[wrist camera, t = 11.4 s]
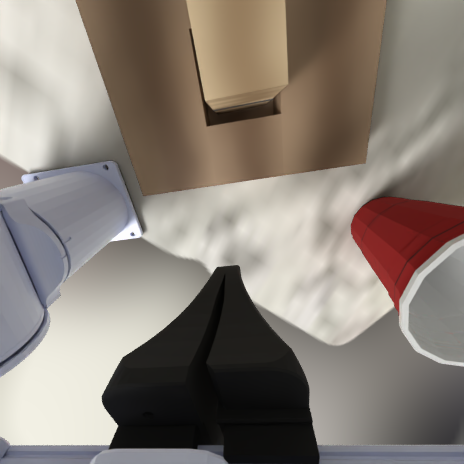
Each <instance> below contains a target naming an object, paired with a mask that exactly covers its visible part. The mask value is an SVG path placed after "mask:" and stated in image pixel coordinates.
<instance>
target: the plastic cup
mask: <svg viewBox="0 0 464 464" xmlns="http://www.w3.org/2000/svg"><path fill="white" fill-rule="evenodd" d="M351 234H352V236H353V239H354V240H355V242H356V243H357V245H358V246H359V248H360V249H361V251H362V253H363V255H364V256H365V258H366V260H367V261H368V263H369V264H370V266H371V267H372V269H373V270H374V272H375V273H376V275H377V276H378V278H379V279H380V281H381V282H382V284H383V285H384V287H385V288H386V290H387V291H388V294H389V296H390V298H391V299H392V301H393V302H394V306H395V308H396V309H397V311H398V314H399V326H400V328H401V330H402V332H403V334H404V335H405V336H406V338H407V339H408V341H409V342H410V344H411V345H412V346H413V348H414V349H415V351H417V352H419V353H421V354H423V355H425V356H427V357H429V358H431V359H433V360H435V361H437V362H439V363H442V364H450V365H458V366H464V207H462V206H455V205H449V204H442V203H435V202H429V201H419V200H410V199H404V198H397V197H382V198H378V199H374V200H372V201H370V202H368V203H367V204H365V205H364V206H362V207H361V208H360V210H359V211H358V212H357V213H356V214H355V215H354V218H353V221H352V223H351Z"/></svg>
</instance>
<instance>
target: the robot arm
mask: <svg viewBox="0 0 464 464" xmlns="http://www.w3.org/2000/svg"><path fill="white" fill-rule="evenodd" d="M105 165H107V166H108V168H109V169H108V170H107V169H106V168H105ZM37 177H38V178H39V180H38V178H37ZM22 181H23V183H24V184H20V185H16V186H12V187H8V188H4V189H0V377H1V376H3V375H4V374H6V373H7V372H9V371H10V370H11V369H13V368H14V367H15V366H17V365H18V364H19V363H20V362H22V361H23V360H24V359H25V358H26V357H27V356H28V355H29V354H30V353H31V352H32V351H33V350H34V349H35V348H36V347H37V346H38V345H39V344H40V342H41V341H42V340H43V338H44V337H45V335H46V333H47V331H48V328H49V325H50V316H49V313H48V311H47V308H48V307H49V306H50V305H51V304H52V303H53V302H54V301H55V300H56V299H57V298H59V297H60V286H61V284H62V283H63V282H64V281H65V280H66V279H68V278H69V277H70V276H71V275H72V274H73V273H75V272H76V271H77V270H78V269H79V268H80V267H82V266H83V265H84V264H85V263H86V262H87V261H88V260H90V259H91V258H92V257H93V256H94V255H95V254H96V253H98V252H99V251H100V250H101V249H102V248H103V247H104V246H106V244H108V243H109V242H110V241H117V240H124V239H132V238H139V237H141V236H142V235H143V231H142V228H141V226H140V223H139V220H138V218H137V215H136V212H135V210H134V207H133V204H132V202H131V199H130V197H129V194H128V191H127V189H126V186H125V183H124V181H123V178H122V175H121V173H120V170H119V167H118V165H117V163H116V162H114V161H105V162H99V163H93V164H87V165H81V166H75V167H69V168H62V169H56V170H50V171H44V172H38V173H32V174H26V175H23V176H22ZM132 232H134V233H135V235H133V234H132ZM102 403H103V405H104V407H105V409H106V410H107V412H108V413H109V414H110V415H111V417H112V418H113V419H114V421H115V422H116V423H117V425H118V428H117V430H116V433H115V435H114V438H113V440H112V442H111V444H110V445H101V446H100V445H61V446H60V445H55V446H53V445H49V446H48V445H45V446H43V445H36V446H35V445H31V446H29V445H26V446H25V445H21V446H20V445H18V446H16V445H14V446H13V445H10V444H9V442H8V441H7V440H5V439H4V438H2V437H0V464H464V445H317V442H316V438H315V434H314V430H313V425H312V422H313V421H312V417H311V412H310V408H309V385H308V382H307V379H306V376H305V374H304V372H303V369H302V367H301V365H300V363H299V361H298V360H297V358H296V356H295V354H294V352H293V351H292V349H291V348H290V347H289V346H288V345H287V344H286V343H285V342H284V341H283V340H282V339H281V338H280V337H279V336H278V335H277V334H276V333H275V332H274V330H273V329H272V328H271V327H270V326H269V324H268V323H267V322H266V321H265V319H264V318H263V317H262V316H261V314H260V313H259V311H258V310H257V308H256V307H255V305H254V304H253V302H252V300H251V298H250V297H249V295H248V293H247V291H246V289H245V286H244V284H243V281H242V278H241V272H240V267H239V266H238V265H234V266H224V267H217V268H216V269H215V271H214V272H213V274H212V276H211V277H210V279H209V280H208V282H207V283H206V284H205V286H204V287H203V289H202V290H201V291H200V293H199V294H198V295H197V296H196V298H195V299H194V300H193V301H192V302H191V303H190V305H189V306H188V307H187V308H186V309H185V310H184V311H183V312H182V313H181V314H180V315H179V316H178V317H177V318H176V319H175V320H173V321H172V322H171V323H170V324H169V325H168V326H167V327H166V328H164V329H163V330H162V331H160V332H159V333H158V334H157V335H155V336H154V337H153V338H151V339H150V340H148V341H147V342H146V343H144V344H143V345H141V346H140V347H138V348H137V349H135V350H134V351H132V352H131V353H129V354H127V355H126V356H124V357H123V358H122V360H121V361H120V363H119V365H118V366H117V368H116V370H115V372H114V374H113V376H112V378H111V379H110V381H109V384H108V385H107V387H106V389H105V391H104V393H103V395H102Z"/></svg>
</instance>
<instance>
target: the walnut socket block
mask: <svg viewBox="0 0 464 464" xmlns="http://www.w3.org/2000/svg"><path fill="white" fill-rule="evenodd" d="M386 1H387V0H285V8H286V35H287V61H288V85H287V86H286V87H285V88H284V89H283V90H281V91H280V92H279V93H278V94H277V95H276V96H275V97H274V98H273V100H271V101H269V102H268V103H267V104H266V105H264V106H259V107H253V108H248V109H243V110H238V111H233V112H228V113H222V114H217V113H216V112H215V111H214V112H213V109H212V108H211V107H210V106H209V105H208V103H207V102H206V101H205V97H204V92H203V87H202V82H201V76H200V71H199V66H198V60H197V55H196V50H195V45H194V39H193V34H192V29H191V23H190V18H189V13H188V7H187V2H186V0H76V3H77V6H78V9H79V12H80V15H81V18H82V20H83V23H84V26H85V29H86V32H87V35H88V38H89V41H90V44H91V46H92V49H93V52H94V55H95V58H96V61H97V64H98V67H99V70H100V72H101V75H102V78H103V81H104V84H105V87H106V90H107V93H108V96H109V98H110V101H111V104H112V107H113V110H114V113H115V116H116V119H117V122H118V124H119V127H120V130H121V133H122V136H123V139H124V142H125V145H126V147H127V150H128V153H129V156H130V159H131V162H132V165H133V168H134V171H135V173H136V176H137V179H138V182H139V185H140V188H141V191H142V194H143V196H147V195H154V194H161V193H168V192H174V191H181V190H188V189H195V188H201V187H208V186H215V185H222V184H228V183H235V182H242V181H249V180H255V179H262V178H269V177H276V176H283V175H289V174H296V173H303V172H310V171H316V170H323V169H330V168H337V167H343V166H350V165H357V164H364V163H366V156H367V148H368V140H369V133H370V125H371V117H372V110H373V102H374V94H375V86H376V79H377V71H378V63H379V55H380V48H381V40H382V32H383V24H384V17H385V9H386Z"/></svg>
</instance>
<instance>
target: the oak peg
mask: <svg viewBox="0 0 464 464" xmlns="http://www.w3.org/2000/svg"><path fill="white" fill-rule="evenodd" d="M186 2H187V7H188V13H189V18H190V23H191V29H192V34H193V39H194V45H195V50H196V55H197V60H198V66H199V71H200V76H201V82H202V87H203V92H204V97H205V101H206V102H207V103H208V105H209V106H210V107H211V108H212V109H213V112H214V111H215V112H216V113H217V114H222V113H228V112H233V111H238V110H243V109H248V108H253V107H259V106H264V105H266V104H267V103H268V102H269V101H271V100H273V98H274V97H275V96H276V95H277V94H278V93H279V92H280V91H281V90H283V89H284V88H285V87H286V86H287V85H288V61H287V35H286V8H285V0H186Z"/></svg>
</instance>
